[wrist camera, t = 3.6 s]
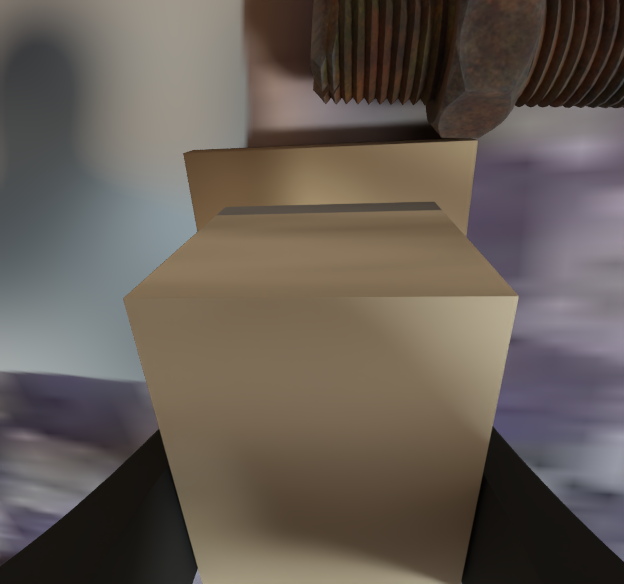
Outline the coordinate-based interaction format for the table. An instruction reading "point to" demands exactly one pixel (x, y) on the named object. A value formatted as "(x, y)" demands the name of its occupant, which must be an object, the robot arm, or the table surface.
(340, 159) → the board
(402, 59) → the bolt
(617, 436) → the table surface
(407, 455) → the block
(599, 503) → the table surface
